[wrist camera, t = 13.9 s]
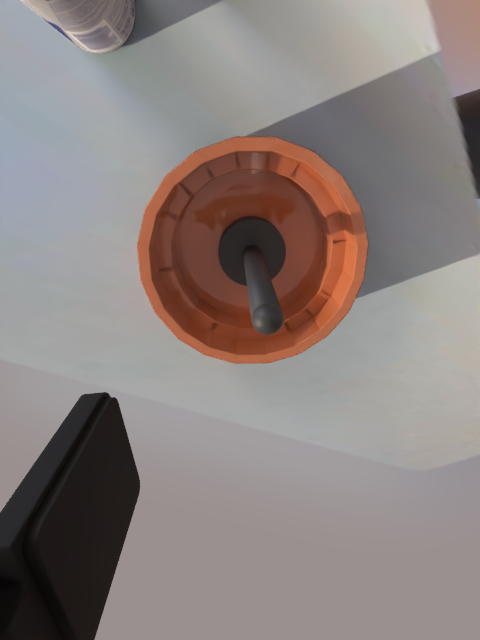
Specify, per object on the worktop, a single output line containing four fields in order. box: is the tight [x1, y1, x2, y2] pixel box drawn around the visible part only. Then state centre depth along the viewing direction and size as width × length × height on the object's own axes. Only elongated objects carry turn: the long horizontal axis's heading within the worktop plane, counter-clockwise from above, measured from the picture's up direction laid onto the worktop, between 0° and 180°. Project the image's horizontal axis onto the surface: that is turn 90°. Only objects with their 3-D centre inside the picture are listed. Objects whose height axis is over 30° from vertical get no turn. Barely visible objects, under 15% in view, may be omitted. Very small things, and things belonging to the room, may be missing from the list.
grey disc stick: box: [218, 216, 286, 335], centre depth 23 cm, size 5×5×16 cm
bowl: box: [137, 137, 368, 364], centre depth 28 cm, size 16×16×6 cm
